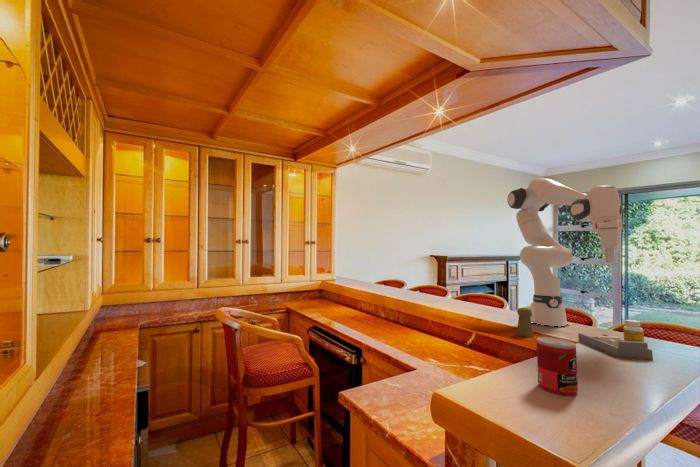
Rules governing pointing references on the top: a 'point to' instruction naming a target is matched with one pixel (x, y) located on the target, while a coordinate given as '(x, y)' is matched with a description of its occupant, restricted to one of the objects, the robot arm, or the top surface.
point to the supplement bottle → (633, 331)
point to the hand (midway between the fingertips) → (610, 262)
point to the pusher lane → (623, 351)
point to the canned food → (557, 366)
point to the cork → (524, 323)
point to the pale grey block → (609, 340)
